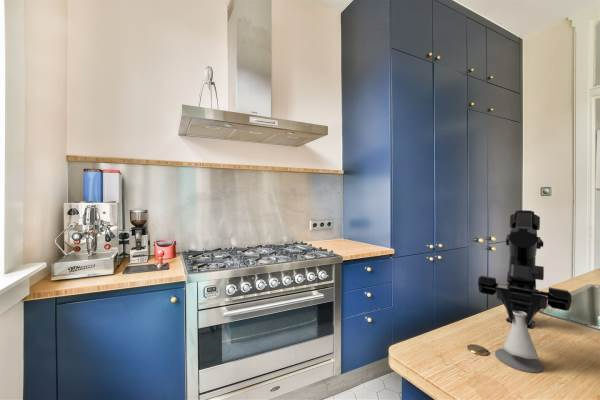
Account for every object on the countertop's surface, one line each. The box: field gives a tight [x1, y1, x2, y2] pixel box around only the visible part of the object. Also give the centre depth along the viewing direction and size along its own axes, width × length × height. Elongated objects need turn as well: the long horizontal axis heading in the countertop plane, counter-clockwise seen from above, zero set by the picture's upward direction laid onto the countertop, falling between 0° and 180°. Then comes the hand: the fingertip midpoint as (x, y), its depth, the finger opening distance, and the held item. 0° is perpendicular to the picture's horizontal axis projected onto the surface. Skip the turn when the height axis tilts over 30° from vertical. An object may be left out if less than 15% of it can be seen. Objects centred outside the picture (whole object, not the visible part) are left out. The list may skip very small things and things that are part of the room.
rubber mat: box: [494, 348, 544, 374], centre depth 69 cm, size 10×10×1 cm
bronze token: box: [466, 343, 490, 357], centre depth 73 cm, size 5×5×1 cm
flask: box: [502, 310, 540, 360], centre depth 69 cm, size 7×7×10 cm
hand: (519, 322), depth 68 cm, fingers closed on flask, 3 cm apart
